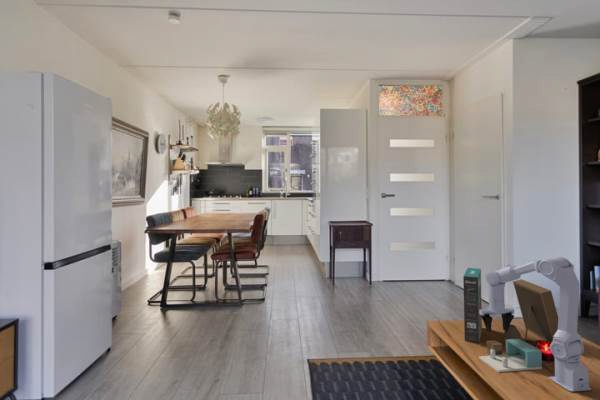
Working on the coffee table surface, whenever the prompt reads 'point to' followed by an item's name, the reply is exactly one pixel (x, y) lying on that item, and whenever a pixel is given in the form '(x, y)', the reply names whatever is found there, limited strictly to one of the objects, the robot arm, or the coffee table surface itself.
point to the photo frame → (537, 309)
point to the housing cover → (524, 352)
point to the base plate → (512, 363)
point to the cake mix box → (472, 305)
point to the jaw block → (494, 347)
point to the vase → (512, 333)
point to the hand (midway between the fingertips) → (497, 331)
